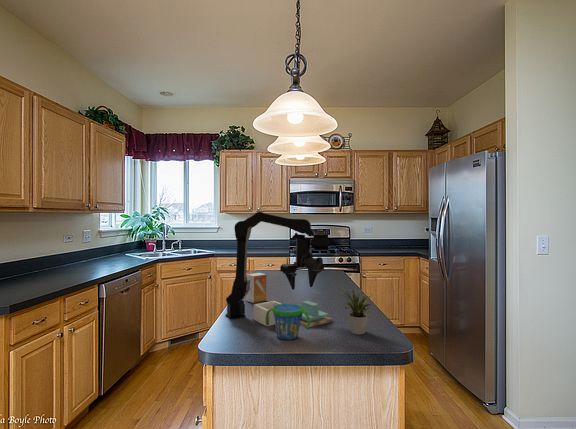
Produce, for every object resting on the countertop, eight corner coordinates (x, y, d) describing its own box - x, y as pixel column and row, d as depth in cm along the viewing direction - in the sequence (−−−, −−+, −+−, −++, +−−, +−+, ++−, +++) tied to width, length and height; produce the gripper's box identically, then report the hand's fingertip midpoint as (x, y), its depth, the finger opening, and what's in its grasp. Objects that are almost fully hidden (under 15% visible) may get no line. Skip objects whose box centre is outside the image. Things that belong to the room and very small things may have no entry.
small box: (253, 303, 158) (253, 276, 158) (245, 300, 163) (245, 274, 163) (266, 300, 164) (266, 274, 164) (258, 298, 168) (258, 272, 168)
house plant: (326, 331, 120) (327, 286, 120) (346, 322, 130) (346, 281, 130) (362, 341, 110) (362, 292, 110) (380, 330, 121) (381, 286, 121)
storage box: (266, 326, 125) (266, 310, 125) (253, 319, 133) (253, 304, 133) (288, 321, 131) (288, 306, 131) (274, 315, 139) (274, 300, 139)
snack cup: (313, 334, 117) (313, 305, 117) (303, 345, 107) (304, 314, 107) (273, 328, 123) (273, 301, 123) (260, 338, 113) (260, 308, 113)
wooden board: (306, 327, 124) (306, 324, 124) (288, 319, 134) (288, 316, 134) (332, 321, 132) (332, 318, 132) (312, 313, 141) (312, 311, 141)
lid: (308, 323, 125) (308, 307, 125) (291, 316, 134) (291, 302, 134) (328, 318, 131) (328, 303, 131) (311, 312, 140) (311, 298, 140)
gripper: (296, 253, 122) (295, 295, 122) (333, 250, 133) (332, 289, 133) (279, 250, 131) (279, 289, 131) (315, 248, 142) (314, 284, 142)
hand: (302, 288), depth 134 cm, fingers open, 9 cm apart
